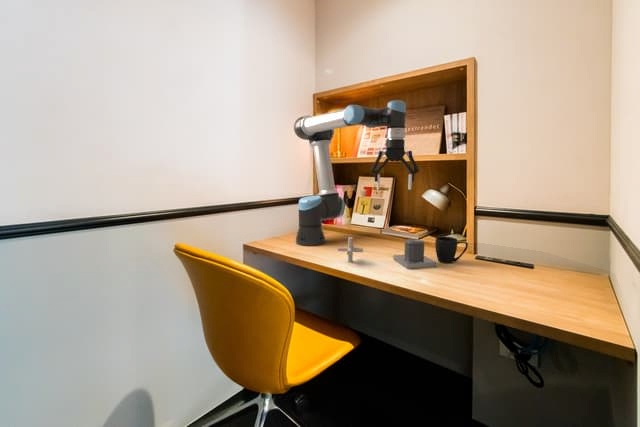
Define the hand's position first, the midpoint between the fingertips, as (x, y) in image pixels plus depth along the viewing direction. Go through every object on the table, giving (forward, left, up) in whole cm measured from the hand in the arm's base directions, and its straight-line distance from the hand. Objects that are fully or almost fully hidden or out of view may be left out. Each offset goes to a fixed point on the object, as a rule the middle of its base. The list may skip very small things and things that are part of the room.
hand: (393, 189), depth 137 cm
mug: (+18, +17, -29) cm, 38 cm away
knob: (+16, +2, -26) cm, 31 cm away
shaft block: (+16, +2, -29) cm, 33 cm away
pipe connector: (+8, -22, -29) cm, 37 cm away
